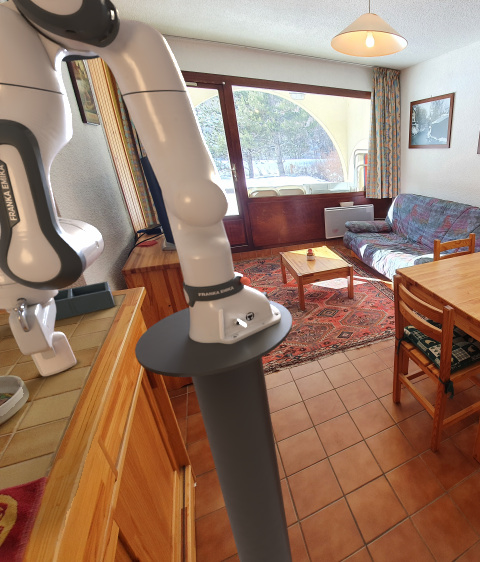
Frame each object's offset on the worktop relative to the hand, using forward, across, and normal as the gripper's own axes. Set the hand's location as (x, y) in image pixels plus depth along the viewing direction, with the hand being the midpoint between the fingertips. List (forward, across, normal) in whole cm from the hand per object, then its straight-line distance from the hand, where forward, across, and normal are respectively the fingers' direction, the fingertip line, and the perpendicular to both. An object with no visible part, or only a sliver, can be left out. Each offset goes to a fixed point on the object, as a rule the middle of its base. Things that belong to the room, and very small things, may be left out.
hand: (51, 351), depth 64 cm
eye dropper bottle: (+5, 0, 0) cm, 5 cm away
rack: (+4, +33, -2) cm, 33 cm away
